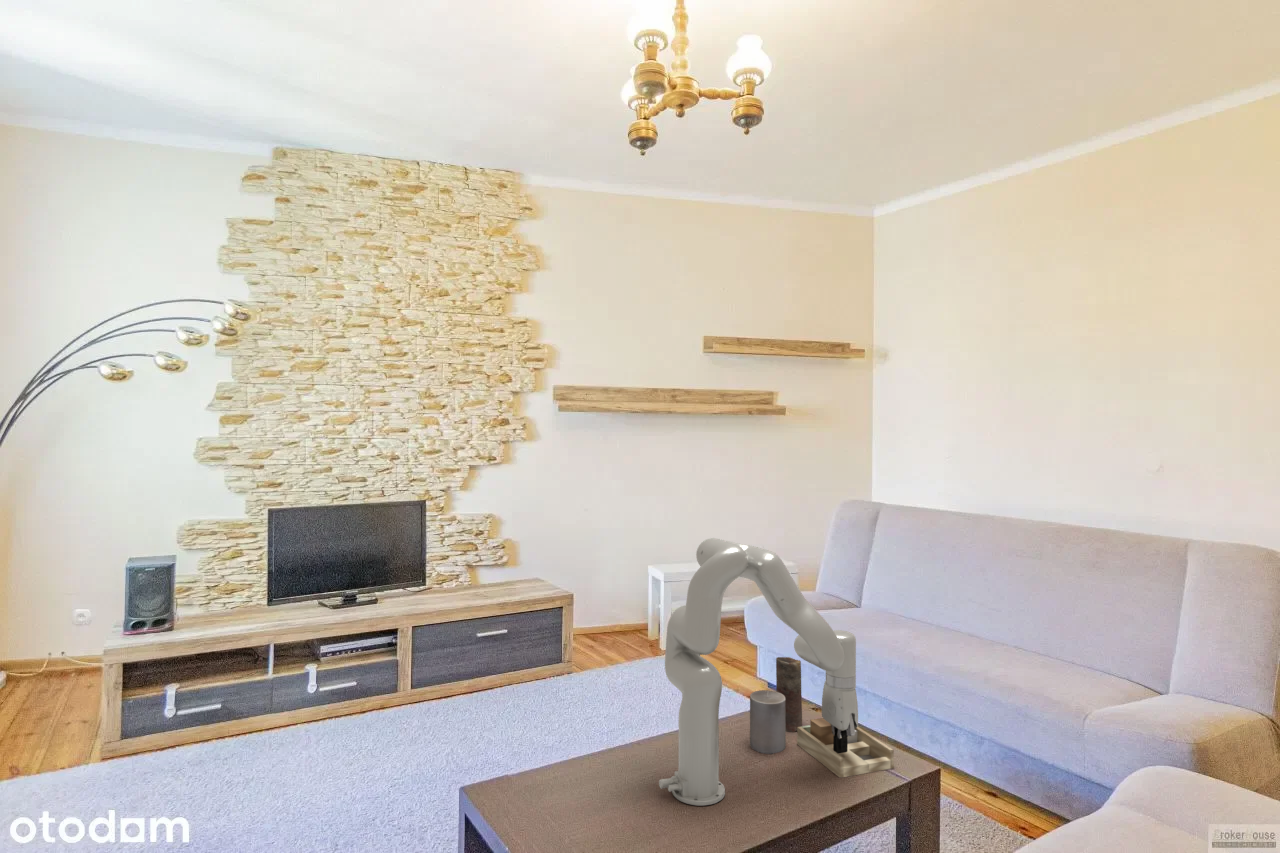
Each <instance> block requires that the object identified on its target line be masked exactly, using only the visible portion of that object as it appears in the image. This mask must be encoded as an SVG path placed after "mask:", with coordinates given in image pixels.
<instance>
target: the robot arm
mask: <svg viewBox="0 0 1280 853" xmlns="http://www.w3.org/2000/svg"><path fill="white" fill-rule="evenodd" d="M696 549H697V550H696V552H695V553H696V554H695V555H696V561H697V563H698V565H699V566H700V567H699V568H698V569H697V570H696V571H695V573H694V574H693V576H692V578H691V579H690V581H689V585H688V588H687V594H686V595H687V596H686V602H685V605H681V606H680V607H677V608H676V609H675V610H674V611H673V612H672V614H671V615H670V618H669V619H668V622H667V625H666V626H667V627H666V638H665V653H664V654H665V655H664V670H665V671H664V672H665V675H666V677H667V679H668V681H669V682H670V683H671V684H672V686H674V687H675V689H677V690H679V692H680V693H681V696H682V697H681V703H680V705H679V706H680V707H679V710H678V724H677V726H678V770H675V771H674V775H673V776H671V777H669V778H661V779H659V780H658V786H659V789H667V791H668V792H671V793H672V795H673V797H674V799H676V800H678V801H679V802H682V803H684V804H687V805H690V806H699V807H700V806H710V805H714V804H717V803H718V802H720V801H722V800H723V799H724V797H725V795H726V786H724V784H723V783H722V782H721V781H720V780H719V779H720V778H719V768H720V767H719V757H720V756H719V751H720V750H719V746H720V745H719V740H720V739H719V733H720V732H719V731H720V729H719V718H720V717H719V713H720V712H719V711H720V702H721V697H722V691H723V680H722V676H721V674H720V672H719V670H718V669H717V668H716V666H715V665H714V664H713V663H711V662H710V661H709V660H707V659H706V658H704V657H703V656H707V655H710V654H712V653H714V652H715V651H716V649H717V647H718V646H719V643H720V636H721V620H722V619H721V618H722V605H723V598H724V595H725V593H726V590H727V588H729V586H730V585H731V584H732V583H733V582H734V581H735V580H737V579H738V578H739V577H740V578H744V579H748V580H750V581H753V582H754V583H755V585H756V586H757V587H758V589H759V591H760V592H761V594H762V595H763V597H764V598H765V600H766V602H767V603H768V605H769V607H770V608H771V610H772V612H773V613H774V615H775V616H776V617H777V618H778V619H779V620H781V622H783V623H784V624H785V625H786V626H787V627H789V628H790V629H792V630H793V631H794V632H795V633H796V634H798V635H797V636H796V638H795V639H794V641H793V648H794V651H795V653H796V654H797V656H798V657H799V658H801V659H802V660H803V661H806V662H807V663H809V664H811V665H813V666H815V667H818V668H819V669H821V670H823V671H825V681H824V682H823V688H822V696H821V718H824V719H825V720H826V721H827V722H829V723H830V725H831V727H832V734H833V735H834V736H833V750H834V751H835V752H836V753H838V754H839V753H845V752H847V750H848V737H849V736H855V729H856V728H857V726H858V727H859V706H858V696H857V689H856V688H857V682H856V681H857V680H856V679H857V678H856V677H857V673H856V672H857V671H856V670H857V665H856V664H857V640H856V636H855V634H853V633H852V632H850V631H847V630H842V629H841V630H840V629H835V630H833V628H832V627H831V625H830V624H829V622H827V621H826V619H825V618H824V617H823V615H821V614H820V613H819V612H818V611H817V610H816V608H815V607H814V606H813V605H812V604H811V603H810V601H808V599H807V598H806V597H805V596H804V595H803V593H802V591H801V590H800V588H799V587H798V585H797V583H796V581H795V580H794V577H793V576H792V574H791V573H790V571H789V570H788V568H787V567H786V565H785V563H784V561H783V560H782V559H781V557H780V556H779V555H778V554H777V553H776V552H773V551H771V550H769V549H765V548H762V547H758V546H754V545H747V544H741V543H738V542H733V541H728V540H724V539H720V538H715V537H712V538H711V537H710V538H707V539H705V540H703V541H702V542H701V543H700V544H699V545H698V547H697V548H696Z"/></svg>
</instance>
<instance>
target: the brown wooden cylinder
mask: <svg viewBox="0 0 1280 853" xmlns="http://www.w3.org/2000/svg"><path fill="white" fill-rule="evenodd" d="M775 662H776V663H775V668H776V672H775V677H776V678H775V680H776V682H775V683H776V686H775V687H776V692H779V693H781V694H783V695H784V696H785V710H786V711H785V712H786V713H785V723H786V733H795V732H797V727H801V726H803V705H802V704H803V702H802V701H803V698H802V695H803V694H802V661H801V660H800V659H795V658H793V657H790V656H787V657H786V656H785V657H784V656H782V657H780V656H778V657H776V658H775Z"/></svg>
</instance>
